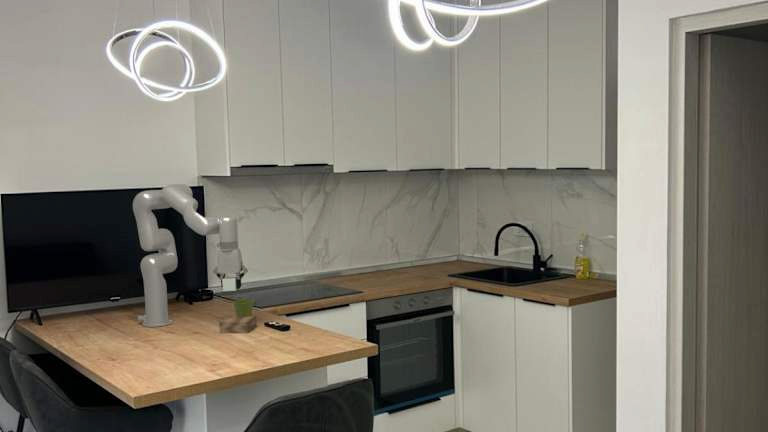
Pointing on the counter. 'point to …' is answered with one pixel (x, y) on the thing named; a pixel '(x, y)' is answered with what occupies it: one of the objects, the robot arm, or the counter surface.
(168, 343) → the counter surface
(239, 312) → the plant pot
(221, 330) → the walnut block
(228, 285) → the white small block
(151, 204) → the robot arm
